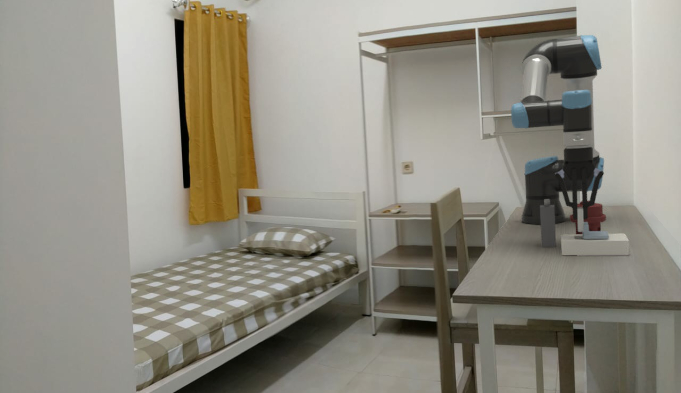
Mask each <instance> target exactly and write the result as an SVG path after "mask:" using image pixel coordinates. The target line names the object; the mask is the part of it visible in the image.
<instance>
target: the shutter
mask: <svg viewBox="0 0 681 393" xmlns="http://www.w3.org/2000/svg"><path fill="white" fill-rule="evenodd" d="M582 234H583V238H584V239H609V235H608V234H609V233H608V231H607V230H601V231H589V225H588V222H584V232H582Z"/></svg>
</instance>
